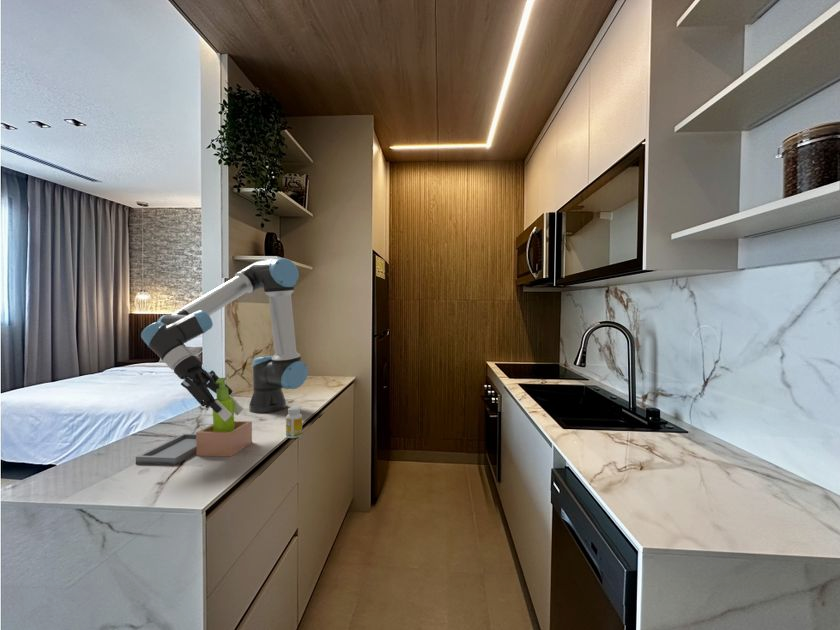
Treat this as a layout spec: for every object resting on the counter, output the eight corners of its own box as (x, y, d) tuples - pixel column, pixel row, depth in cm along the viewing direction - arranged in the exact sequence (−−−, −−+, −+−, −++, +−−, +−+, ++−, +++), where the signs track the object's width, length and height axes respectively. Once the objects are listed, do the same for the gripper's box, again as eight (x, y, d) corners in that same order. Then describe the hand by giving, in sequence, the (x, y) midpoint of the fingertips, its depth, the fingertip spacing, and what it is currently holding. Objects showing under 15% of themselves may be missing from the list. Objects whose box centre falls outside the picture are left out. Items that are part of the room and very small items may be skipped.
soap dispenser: (211, 446, 117) (208, 381, 115) (216, 437, 123) (213, 376, 122) (232, 444, 118) (229, 380, 117) (236, 435, 125) (234, 375, 123)
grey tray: (183, 439, 130) (183, 433, 130) (217, 440, 129) (217, 434, 129) (135, 463, 110) (135, 456, 110) (175, 464, 109) (175, 457, 109)
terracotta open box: (220, 441, 128) (219, 420, 127) (252, 442, 127) (251, 421, 127) (196, 455, 116) (196, 432, 115) (231, 456, 115) (231, 433, 115)
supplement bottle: (284, 438, 130) (284, 410, 130) (288, 433, 135) (287, 406, 135) (300, 438, 130) (300, 410, 130) (303, 433, 136) (303, 406, 136)
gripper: (195, 366, 131) (242, 414, 130) (153, 377, 112) (208, 433, 111) (210, 350, 130) (257, 399, 129) (169, 359, 111) (225, 415, 111)
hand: (234, 414), depth 120 cm, fingers closed on soap dispenser, 6 cm apart
